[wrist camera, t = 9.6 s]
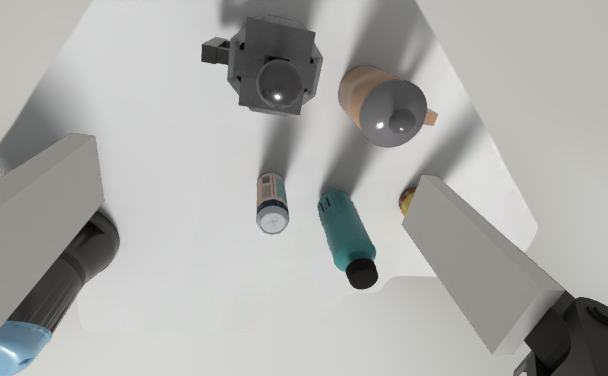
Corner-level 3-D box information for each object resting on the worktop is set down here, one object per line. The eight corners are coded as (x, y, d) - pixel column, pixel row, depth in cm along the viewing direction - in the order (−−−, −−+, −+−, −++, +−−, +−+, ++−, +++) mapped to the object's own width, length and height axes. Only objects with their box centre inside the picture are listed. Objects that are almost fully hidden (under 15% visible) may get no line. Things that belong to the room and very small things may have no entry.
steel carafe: (215, 76, 44) (196, 104, 31) (220, 3, 40) (199, -2, 26) (296, 91, 46) (311, 122, 33) (308, 23, 42) (331, 28, 29)
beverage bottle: (322, 181, 55) (350, 258, 38) (355, 189, 57) (397, 265, 39) (310, 210, 58) (332, 294, 40) (342, 217, 59) (376, 300, 42)
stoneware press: (331, 113, 49) (362, 155, 34) (345, 59, 45) (385, 81, 31) (393, 124, 51) (446, 167, 37) (410, 73, 47) (477, 99, 33)
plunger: (244, 77, 40) (232, 124, 23) (249, 23, 37) (240, 31, 20) (291, 86, 42) (313, 136, 25) (300, 34, 39) (332, 51, 22)
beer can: (252, 190, 54) (250, 231, 44) (262, 167, 52) (263, 205, 42) (277, 198, 55) (281, 240, 45) (288, 176, 54) (295, 215, 43)
